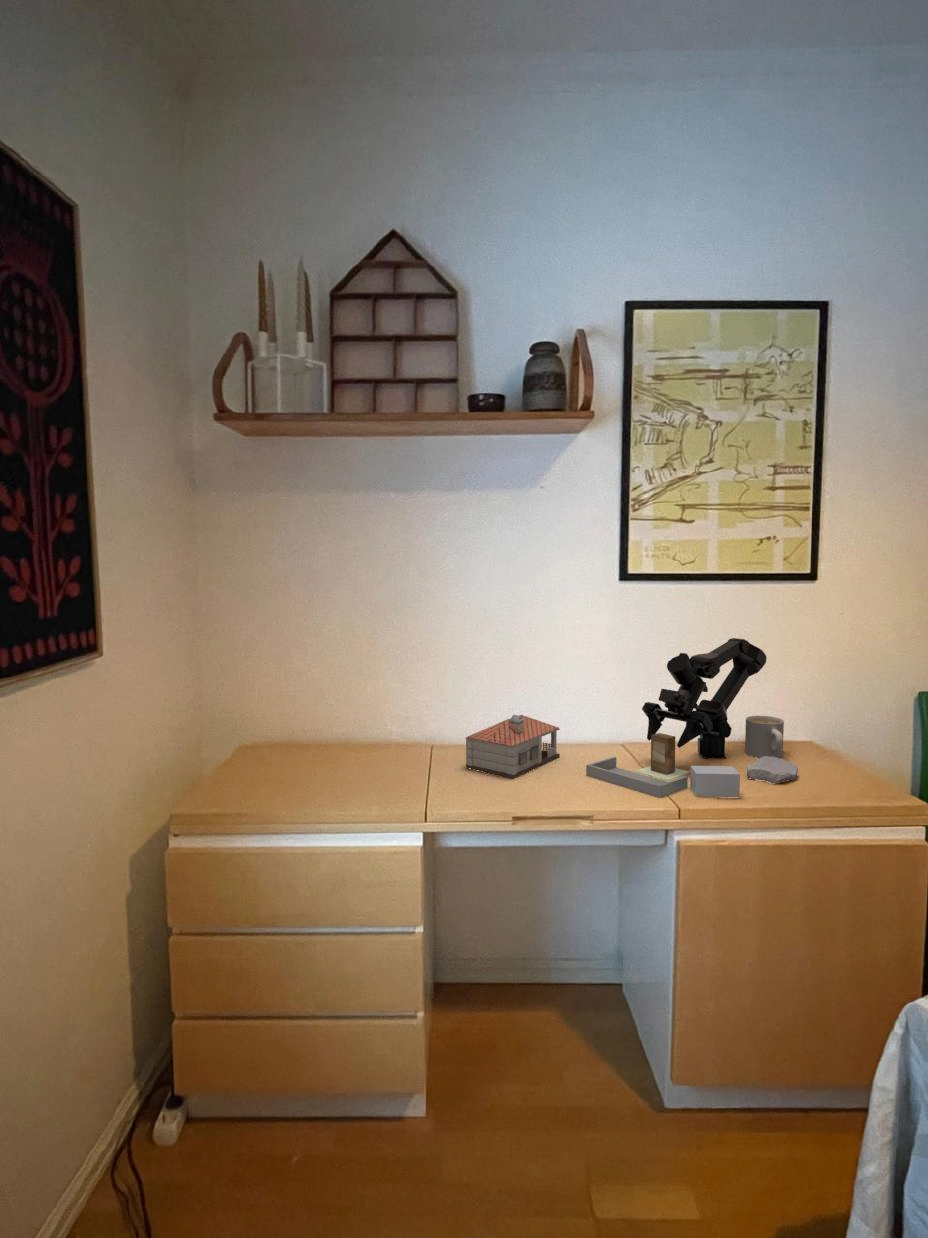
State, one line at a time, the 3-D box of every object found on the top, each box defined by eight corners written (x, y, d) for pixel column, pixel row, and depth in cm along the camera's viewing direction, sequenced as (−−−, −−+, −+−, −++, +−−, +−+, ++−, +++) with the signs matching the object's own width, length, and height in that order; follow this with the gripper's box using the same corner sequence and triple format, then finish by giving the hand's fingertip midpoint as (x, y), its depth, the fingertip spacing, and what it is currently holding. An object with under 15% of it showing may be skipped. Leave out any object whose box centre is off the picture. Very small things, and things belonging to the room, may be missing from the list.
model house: (514, 780, 185) (513, 722, 183) (465, 769, 194) (465, 714, 193) (560, 758, 203) (560, 706, 202) (514, 749, 213) (514, 699, 211)
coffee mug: (740, 749, 210) (741, 715, 209) (775, 749, 209) (776, 715, 208) (755, 762, 196) (756, 726, 196) (792, 763, 196) (794, 727, 195)
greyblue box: (732, 790, 175) (732, 766, 174) (739, 799, 169) (740, 774, 168) (690, 789, 176) (690, 765, 175) (695, 798, 170) (696, 773, 169)
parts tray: (613, 767, 193) (613, 756, 193) (687, 788, 176) (687, 776, 176) (586, 776, 186) (586, 765, 186) (660, 799, 169) (660, 786, 169)
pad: (658, 764, 195) (658, 763, 195) (690, 773, 188) (690, 771, 188) (635, 772, 189) (635, 770, 189) (667, 781, 181) (667, 780, 181)
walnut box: (658, 767, 191) (659, 732, 190) (674, 772, 188) (675, 736, 187) (650, 770, 189) (650, 735, 188) (666, 775, 185) (667, 739, 184)
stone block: (799, 782, 185) (761, 767, 192) (803, 765, 184) (765, 751, 191) (781, 796, 177) (742, 779, 184) (785, 778, 176) (746, 762, 182)
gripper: (646, 672, 196) (620, 719, 191) (707, 682, 182) (681, 732, 176) (663, 696, 202) (638, 742, 196) (723, 707, 188) (699, 757, 182)
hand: (662, 743), depth 188 cm, fingers open, 9 cm apart
